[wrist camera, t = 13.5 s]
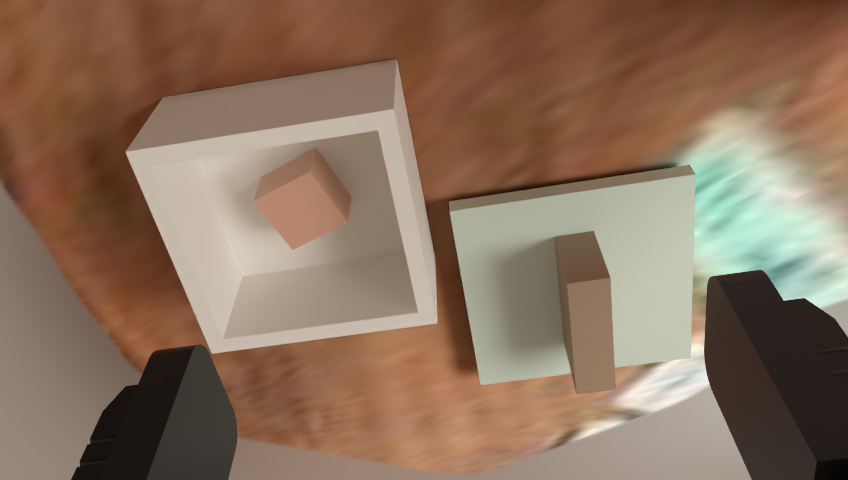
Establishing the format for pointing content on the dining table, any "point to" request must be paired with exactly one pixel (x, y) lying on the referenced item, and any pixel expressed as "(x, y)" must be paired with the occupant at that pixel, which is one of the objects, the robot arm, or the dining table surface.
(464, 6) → the dining table surface
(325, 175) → the exposed block
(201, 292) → the box
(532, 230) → the lid
